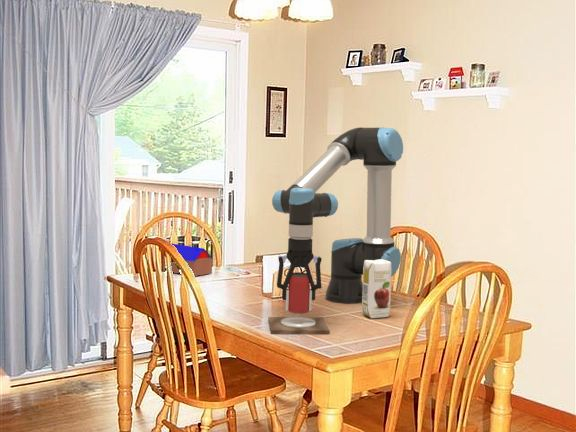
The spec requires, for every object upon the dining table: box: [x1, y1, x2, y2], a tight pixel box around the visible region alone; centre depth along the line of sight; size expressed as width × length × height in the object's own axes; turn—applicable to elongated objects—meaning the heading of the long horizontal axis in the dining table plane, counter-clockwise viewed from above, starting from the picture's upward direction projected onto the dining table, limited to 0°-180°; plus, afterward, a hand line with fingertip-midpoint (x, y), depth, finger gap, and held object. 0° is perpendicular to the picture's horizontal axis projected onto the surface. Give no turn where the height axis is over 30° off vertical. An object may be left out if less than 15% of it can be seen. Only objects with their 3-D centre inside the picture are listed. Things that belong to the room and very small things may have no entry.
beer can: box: [287, 271, 310, 314], centre depth 216 cm, size 7×7×12 cm
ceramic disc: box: [281, 316, 316, 328], centre depth 217 cm, size 11×11×1 cm
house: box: [162, 243, 214, 276], centre depth 304 cm, size 12×20×12 cm, turn 53°
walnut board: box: [267, 316, 331, 335], centre depth 217 cm, size 18×16×1 cm
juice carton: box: [361, 259, 392, 319], centre depth 233 cm, size 8×9×19 cm
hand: (298, 309), depth 216 cm, fingers closed on beer can, 6 cm apart
